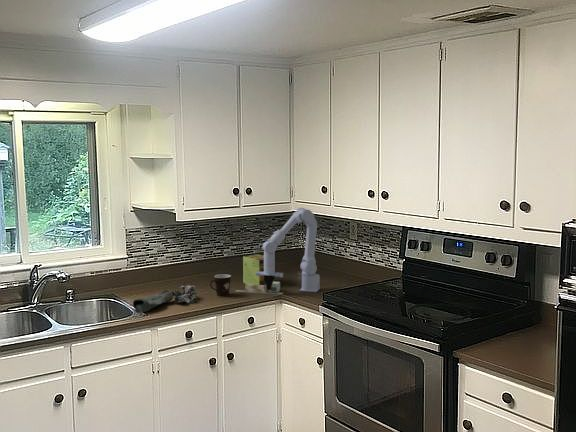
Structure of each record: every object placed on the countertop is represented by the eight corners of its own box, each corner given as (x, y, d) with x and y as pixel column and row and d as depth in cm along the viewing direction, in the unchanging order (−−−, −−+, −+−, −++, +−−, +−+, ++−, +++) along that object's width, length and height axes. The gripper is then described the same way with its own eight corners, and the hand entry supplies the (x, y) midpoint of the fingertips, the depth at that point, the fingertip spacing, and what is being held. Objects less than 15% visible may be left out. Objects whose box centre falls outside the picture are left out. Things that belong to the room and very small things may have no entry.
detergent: (147, 314, 290) (184, 301, 311) (146, 299, 290) (182, 287, 310) (127, 312, 298) (164, 299, 318) (126, 298, 297) (163, 286, 318)
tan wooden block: (267, 291, 330) (267, 284, 330) (266, 293, 327) (266, 285, 327) (246, 290, 333) (246, 283, 333) (244, 291, 330) (244, 284, 330)
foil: (164, 296, 311) (184, 275, 319) (175, 311, 316) (194, 291, 324) (179, 299, 303) (198, 278, 311) (189, 315, 308) (209, 294, 316)
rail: (283, 293, 327) (283, 292, 327) (282, 294, 326) (282, 293, 326) (236, 290, 334) (236, 289, 334) (235, 291, 332) (235, 290, 332)
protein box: (259, 288, 340) (259, 260, 338) (242, 283, 351) (242, 256, 349) (274, 285, 346) (274, 257, 344) (257, 280, 358) (257, 253, 356)
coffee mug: (229, 292, 331) (228, 273, 330) (232, 296, 323) (232, 277, 322) (207, 294, 327) (207, 275, 326) (210, 298, 319) (210, 279, 318)
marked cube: (280, 290, 335) (280, 282, 335) (277, 292, 331) (277, 284, 330) (272, 289, 337) (272, 281, 336) (269, 291, 332) (269, 283, 332)
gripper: (253, 265, 324) (253, 290, 326) (280, 266, 321) (280, 292, 322) (257, 262, 331) (258, 287, 333) (284, 263, 327) (284, 289, 329)
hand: (269, 289), depth 328 cm, fingers closed
